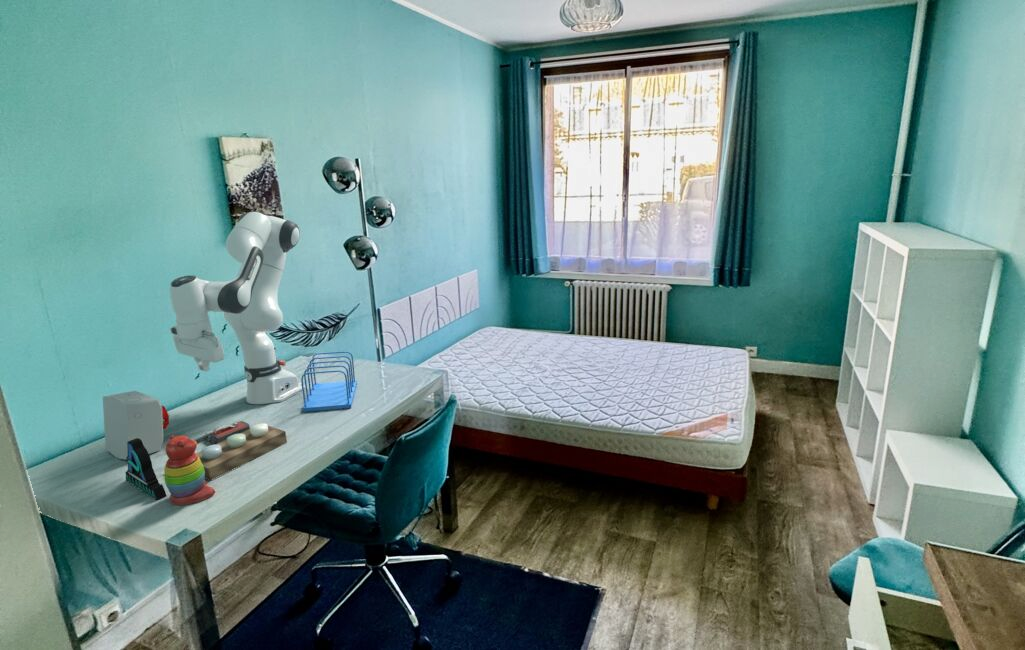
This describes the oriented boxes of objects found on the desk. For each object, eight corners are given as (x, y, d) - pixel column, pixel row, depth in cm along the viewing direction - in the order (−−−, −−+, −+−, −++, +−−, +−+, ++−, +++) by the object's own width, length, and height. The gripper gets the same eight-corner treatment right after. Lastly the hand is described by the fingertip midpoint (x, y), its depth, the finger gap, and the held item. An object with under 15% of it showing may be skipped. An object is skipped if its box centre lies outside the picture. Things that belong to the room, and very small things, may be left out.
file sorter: (351, 408, 201) (347, 370, 197) (302, 413, 198) (297, 374, 194) (357, 384, 225) (353, 349, 220) (314, 387, 222) (309, 352, 217)
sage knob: (241, 446, 171) (238, 432, 170) (251, 450, 169) (248, 435, 167) (225, 454, 167) (223, 439, 166) (236, 458, 164) (233, 442, 163)
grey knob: (217, 458, 165) (214, 443, 163) (227, 462, 162) (224, 446, 161) (200, 466, 160) (197, 450, 159) (211, 470, 158) (208, 454, 156)
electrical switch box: (179, 449, 177) (177, 391, 174) (129, 464, 164) (125, 401, 162) (155, 439, 184) (153, 383, 182) (105, 452, 172) (102, 392, 169)
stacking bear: (217, 494, 148) (206, 436, 143) (177, 511, 141) (163, 450, 136) (203, 480, 155) (192, 424, 150) (163, 496, 148) (150, 437, 143)
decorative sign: (126, 480, 156) (114, 434, 152) (135, 476, 158) (124, 430, 154) (157, 501, 145) (145, 451, 141) (166, 496, 147) (155, 447, 143)
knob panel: (263, 434, 182) (261, 423, 181) (286, 442, 176) (285, 431, 175) (186, 470, 160) (184, 458, 159) (210, 480, 154) (208, 468, 153)
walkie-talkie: (241, 425, 190) (181, 448, 174) (239, 413, 189) (179, 436, 173) (255, 431, 185) (195, 456, 169) (253, 419, 184) (192, 443, 168)
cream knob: (263, 436, 178) (260, 422, 177) (273, 439, 175) (271, 425, 174) (249, 443, 174) (246, 428, 172) (259, 446, 171) (256, 432, 170)
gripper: (225, 330, 163) (234, 371, 168) (186, 322, 173) (195, 361, 178) (205, 336, 158) (215, 379, 163) (166, 327, 168) (176, 368, 172)
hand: (204, 370), depth 170 cm, fingers closed
